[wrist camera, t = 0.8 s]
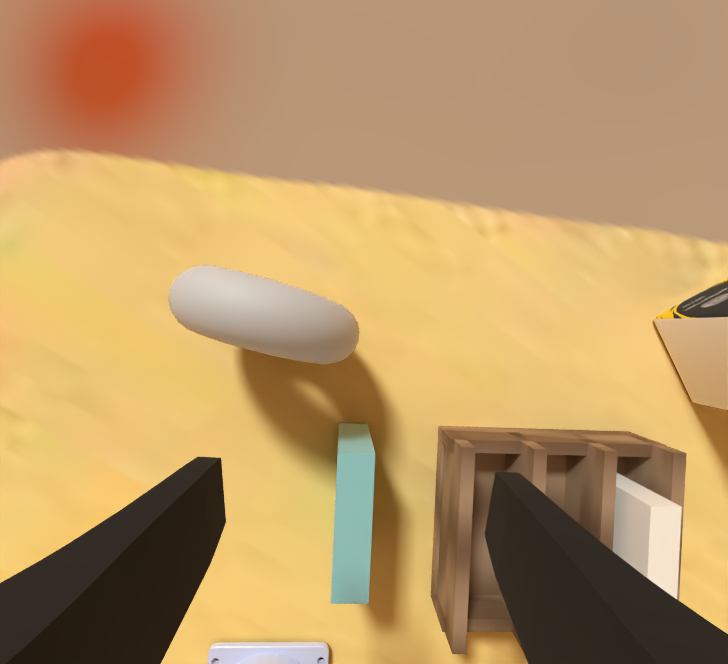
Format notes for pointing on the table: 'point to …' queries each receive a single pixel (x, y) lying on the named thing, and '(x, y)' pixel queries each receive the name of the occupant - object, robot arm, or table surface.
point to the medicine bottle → (700, 343)
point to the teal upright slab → (353, 515)
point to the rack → (551, 476)
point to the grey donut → (263, 315)
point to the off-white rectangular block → (647, 533)
